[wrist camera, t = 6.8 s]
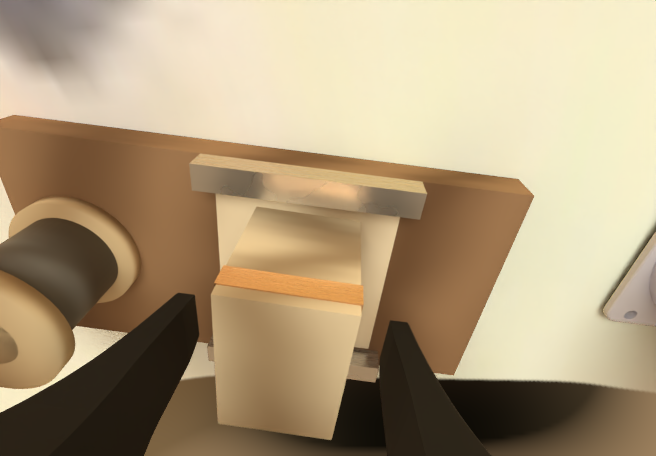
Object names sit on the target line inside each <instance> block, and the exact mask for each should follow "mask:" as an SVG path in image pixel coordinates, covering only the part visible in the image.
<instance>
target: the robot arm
mask: <svg viewBox="0 0 656 456" xmlns="http://www.w3.org/2000/svg"><path fill="white" fill-rule="evenodd" d="M603 313H604V314H605V315H606V317H607V318H608V319H609V320H612V321H619V322H627V323H635V324H642V325H650V326H656V232H655V233H654V235H653V236H652V238H651V239H650V241H649V242H648V243H647V245H646V246H645V248H644V249H643V251H642V252H641V254H640V255H639V257H638V258H637V260H636V261H635V262H634V264H633V265H632V267H631V268H630V270H629V271H628V273H627V274H626V276H625V277H624V279H623V280H622V282H621V283H620V284H619V286H618V287H617V289H616V290H615V292H614V293H613V295H612V296H611V298H610V299H609V301H608V302H607V303H606V305H605V306H604V309H603ZM198 338H199V326H198V318H197V309H196V300H195V295H193V294H185V293H177V294H175V295H174V296H173V297H172V298H170V299H169V300H168V301H167V302H166V303H165V304H163V305H162V306H161V307H160V308H159V309H157V310H156V311H155V312H154V313H153V314H151V315H150V316H149V317H148V318H147V319H145V320H144V321H143V322H142V323H141V324H139V325H138V326H137V327H136V328H134V329H133V330H132V331H131V332H129V333H128V334H127V335H125V336H124V337H123V338H122V339H120V340H119V341H118V342H116V343H115V344H113V345H112V346H111V347H109V348H108V349H107V350H105V351H104V352H103V353H101V354H100V355H98V356H97V357H96V358H94V359H93V360H91V361H90V362H88V363H87V364H85V365H84V366H82V367H81V368H79V369H78V370H76V371H74V372H73V373H71V374H70V375H68V376H67V377H65V378H63V379H62V380H60V381H58V382H56V383H55V384H53V385H51V386H49V387H48V388H46V389H44V390H42V391H40V392H39V393H37V394H35V395H33V396H32V397H30V398H28V399H26V400H24V401H22V402H21V403H19V404H17V405H15V406H13V407H11V408H9V409H7V410H5V411H3V412H1V413H0V456H144V454H145V452H146V449H147V447H148V444H149V442H150V439H151V437H152V435H153V433H154V430H155V428H156V426H157V424H158V422H159V420H160V418H161V416H162V414H163V412H164V410H165V409H166V407H167V404H168V403H169V401H170V399H171V397H172V395H173V393H174V391H175V389H176V387H177V385H178V384H179V382H180V380H181V378H182V376H183V374H184V372H185V370H186V368H187V366H188V364H189V362H190V359H191V357H192V354H193V351H194V349H195V346H196V343H197V340H198ZM380 395H381V404H382V413H383V422H384V430H385V440H386V448H387V456H491V455H490V453H489V452H488V451H487V450H486V449H485V448H484V446H483V445H482V444H481V442H480V441H479V440H478V439H477V437H476V436H475V435H474V433H473V432H472V431H471V429H470V428H469V427H468V425H467V424H466V423H465V421H464V420H463V418H462V417H461V416H460V414H459V413H458V411H457V410H456V408H455V407H454V405H453V404H452V402H451V401H450V399H449V398H448V396H447V394H446V393H445V391H444V390H443V388H442V386H441V385H440V383H439V381H438V380H437V378H436V376H435V374H434V373H433V371H432V369H431V367H430V366H429V364H428V362H427V360H426V358H425V356H424V354H423V353H422V351H421V349H420V347H419V345H418V343H417V341H416V338H415V336H414V334H413V332H412V330H411V328H410V325H409V324H408V323H407V322H401V321H393V320H390V322H389V326H388V329H387V333H386V337H385V340H384V344H383V348H382V351H381V355H380Z"/></svg>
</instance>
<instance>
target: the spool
mask: <svg viewBox="0 0 656 456" xmlns="http://www.w3.org/2000/svg"><path fill="white" fill-rule="evenodd" d="M140 269H141V257H140V253H139V249H138V247H137V245H136V242H135V241H134V239H133V237H132V236H131V234H130V233H129V232H128V230H127V229H126V228H125V227H124V226H123V225H122V224H121V223H120V222H119V221H118V220H117V219H116V218H115V217H113V216H112V215H111V214H109V213H108V212H106V211H105V210H103V209H102V208H100V207H98V206H96V205H94V204H92V203H89V202H87V201H84V200H81V199H78V198H74V197H68V196H50V197H45V198H42V199H40V200H38V201H36V202H34V203H33V204H31V205H29V206H27V207H26V208H24V209H22V210H21V211H19V212H18V213H17V214H16V215H15V216H14V218H13V219H12V221H11V223H10V226H9V239H7V240H6V241H4V242H3V243H1V244H0V387H5V388H13V389H28V388H35V387H39V386H42V385H45V384H47V383H49V382H50V381H52V380H53V379H54V378H55V377H56V376H57V374H58V373H59V372H60V371H61V370H62V368H63V367H64V366H65V365H66V364H67V362H68V361H69V360H70V359H71V357H72V356H73V353H74V350H75V338H74V335H73V331H72V330H73V328H74V327H75V326H76V325H77V324H78V323H79V322H80V321H81V320H82V318H83V317H84V316H85V315H86V314H87V313H88V312H89V311H90V310H91V308H92V307H93V306H94V305H95V304H96V303H104V302H109V301H113V300H115V299H117V298H119V297H120V296H122V295H123V294H124V293H125V292H126V291H127V290H128V289H129V288H130V286H131V285H132V284H133V283H134V282H135V280H136V279H137V277H138V275H139V273H140Z"/></svg>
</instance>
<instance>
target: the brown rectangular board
mask: <svg viewBox="0 0 656 456" xmlns="http://www.w3.org/2000/svg"><path fill="white" fill-rule="evenodd" d="M0 177H1V180H2V182H3V185H4V187H5V190H6V193H7V195H8V198H9V200H10V203H11V205H12V208H13V210H14V213H15V215H16V214H17V213H18V212H19V211H21V210H22V209H24V208H26V207H27V206H29V205H31V204H33V203H34V202H36V201H38V200H40V199H42V198H45V197H50V196H68V197H74V198H78V199H81V200H84V201H87V202H89V203H92V204H94V205H96V206H98V207H100V208H102V209H103V210H105V211H106V212H108V213H109V214H111V215H112V216H113V217H115V218H116V219H117V220H118V221H119V222H120V223H121V224H122V225H123V226H124V227H125V228H126V229H127V230H128V232H129V233H130V234H131V236H132V237H133V239H134V241H135V242H136V245H137V247H138V249H139V253H140V257H141V269H140V273H139V275H138V277H137V279H136V280H135V282H134V283H133V284H132V285H131V286H130V288H129V289H128V290H127V291H126V292H125V293H124V294H123V295H122V296H120V297H119V298H117V299H115V300H113V301H109V302H104V303H96V304H95V305H94V306H93V307H92V308H91V310H90V311H89V312H88V313H87V314H86V315H85V316H84V317H83V318H82V320H81V321H80V322H79V323H78V324H77V325H76V326H82V327H89V328H97V329H104V330H112V331H120V332H127V333H129V332H131V331H132V330H133V329H134V328H136V327H137V326H138V325H139V324H141V323H142V322H143V321H144V320H145V319H147V318H148V317H149V316H150V315H151V314H153V313H154V312H155V311H156V310H157V309H159V308H160V307H161V306H162V305H163V304H165V303H166V302H167V301H168V300H169V299H170V298H172V297H173V296H174V295H175V294H177V293H185V294H193V295H195V300H196V309H197V318H198V326H199V338H198V340H197V342H204V343H209V344H208V346H207V348H208V358H209V361H214V344H213V326H212V308H211V293H212V291H213V289H214V282H215V280H216V278H217V276H218V274H219V273H220V271H221V269H222V267H223V265H226V264H227V262H228V260H229V258H230V257H231V255H232V253H233V251H234V249H235V247H236V245H237V243H238V241H239V239H240V237H241V235H242V234H243V232H244V230H245V228H246V226H247V224H248V222H249V220H250V218H251V216H252V214H253V212H254V210H255V209H256V207H264V208H271V209H278V210H285V211H291V212H298V213H305V214H312V215H319V216H325V217H332V218H339V219H346V220H353V221H359V222H360V223H361V285H363V300H364V305H363V309H362V317H361V321H360V325H359V329H358V333H357V337H356V341H355V345H354V350H353V354H352V358H351V362H350V366H349V370H348V374H347V378H346V379H353V380H361V381H369V382H375V380H376V377H377V373H378V370H379V365H380V355H381V351H382V348H383V344H384V340H385V337H386V333H387V329H388V326H389V322H390V320H393V321H401V322H407V323H408V324H409V325H410V328H411V330H412V332H413V334H414V336H415V338H416V341H417V343H418V345H419V347H420V349H421V351H422V353H423V354H424V356H425V358H426V360H427V362H428V364H429V366H430V367H431V369H432V371H433V373H441V374H448V375H454V373H455V371H456V369H457V367H458V365H459V362H460V360H461V358H462V356H463V353H464V351H465V349H466V347H467V345H468V342H469V340H470V338H471V336H472V333H473V331H474V329H475V327H476V325H477V322H478V320H479V318H480V316H481V313H482V311H483V309H484V307H485V304H486V302H487V300H488V298H489V296H490V293H491V291H492V289H493V287H494V284H495V282H496V280H497V278H498V276H499V273H500V271H501V269H502V267H503V264H504V262H505V260H506V258H507V256H508V253H509V251H510V249H511V247H512V244H513V242H514V240H515V238H516V236H517V233H518V231H519V229H520V227H521V224H522V222H523V220H524V218H525V215H526V213H527V211H528V209H529V207H530V204H531V202H532V200H533V198H534V195H533V194H532V193H531V192H530V191H529V190H528V189H527V188H526V187H525V186H524V185H523V184H522V183H521V182H520V181H519V179H513V178H505V177H497V176H489V175H481V174H473V173H465V172H458V171H450V170H442V169H434V168H426V167H418V166H410V165H403V164H395V163H387V162H379V161H371V160H363V159H355V158H348V157H340V156H332V155H324V154H316V153H308V152H301V151H293V150H285V149H277V148H269V147H261V146H253V145H246V144H238V143H230V142H222V141H214V140H206V139H198V138H191V137H183V136H175V135H167V134H159V133H151V132H143V131H136V130H128V129H120V128H112V127H104V126H96V125H88V124H81V123H73V122H65V121H57V120H49V119H41V118H33V117H26V116H18V115H12V116H9V117H6V118H2V119H0Z"/></svg>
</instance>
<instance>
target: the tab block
mask: <svg viewBox="0 0 656 456" xmlns="http://www.w3.org/2000/svg"><path fill="white" fill-rule="evenodd" d="M363 305H364V300H363V285H361V223H360V222H359V221H353V220H346V219H339V218H332V217H325V216H319V215H312V214H305V213H298V212H291V211H285V210H278V209H271V208H264V207H256V209H255V210H254V212H253V214H252V216H251V218H250V220H249V222H248V224H247V226H246V228H245V230H244V232H243V234H242V235H241V237H240V239H239V241H238V243H237V245H236V247H235V249H234V251H233V253H232V255H231V257H230V258H229V260H228V262H227V264H226V265H223V267H222V269H221V271H220V273H219V274H218V276H217V278H216V280H215V282H214V289H213V291H212V293H211V308H212V326H213V344H214V362H215V379H216V397H217V416H218V424H224V425H231V426H238V427H245V428H252V429H259V430H266V431H273V432H279V433H286V434H294V435H300V436H307V437H315V438H321V439H328V440H332V436H333V432H334V428H335V423H336V419H337V415H338V411H339V407H340V403H341V399H342V394H343V391H344V387H345V382H346V378H347V374H348V370H349V366H350V362H351V358H352V354H353V350H354V345H355V341H356V337H357V333H358V329H359V325H360V321H361V317H362V309H363Z"/></svg>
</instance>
